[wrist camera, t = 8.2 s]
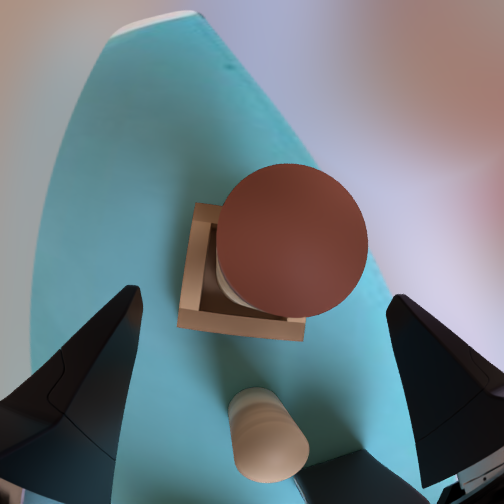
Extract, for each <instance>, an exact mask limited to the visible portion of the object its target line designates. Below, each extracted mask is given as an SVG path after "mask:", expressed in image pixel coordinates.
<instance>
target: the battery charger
mask: <svg viewBox="0 0 504 504" xmlns="http://www.w3.org/2000/svg"><path fill="white" fill-rule="evenodd" d="M294 481H295V483H296V486H297V488H298V490H299V492H300V494H301V496H302V497H303V499H304V501H305V503H306V504H430V502H429V501H428V500H427V499H426V498H425V497H424V496H423V495H422V494H420V493H419V492H418V491H417V490H416V489H414V488H413V487H412V486H411V485H410V484H408V483H407V482H406V481H404V480H403V479H402V478H400V477H399V476H398V475H396V474H395V473H394V472H392V471H391V470H389V469H388V468H387V467H385V466H384V465H382V464H381V463H380V462H379V461H377V460H376V459H375V458H374V457H373V456H372V455H371V454H370V453H369V452H368V451H367V450H365V449H363V450H360V451H357V452H354V453H351V454H348V455H345V456H342V457H339V458H336V459H333V460H330V461H327V462H324V463H321V464H318V465H315V466H311V467H308V468H305V469H301V470H299V471H298V472H297V473H296V474H295V476H294Z"/></svg>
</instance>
